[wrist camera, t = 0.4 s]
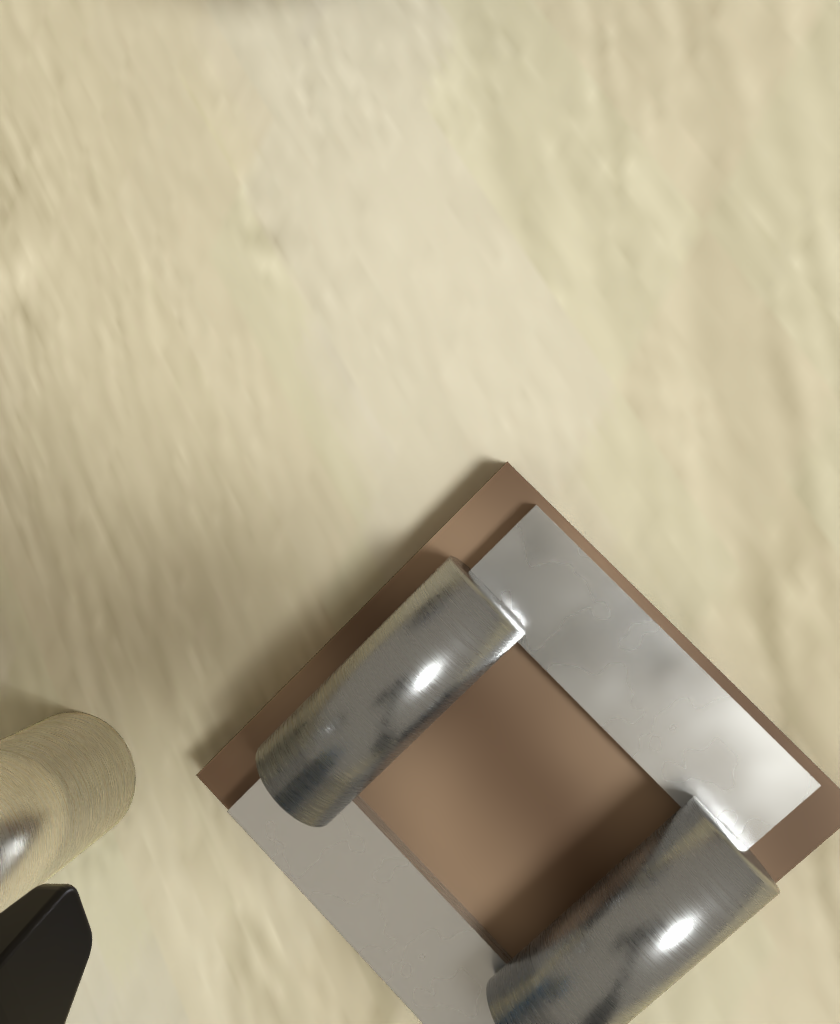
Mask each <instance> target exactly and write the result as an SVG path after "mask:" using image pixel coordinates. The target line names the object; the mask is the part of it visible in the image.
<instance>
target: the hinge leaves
mask: <svg viewBox="0 0 840 1024" xmlns="http://www.w3.org/2000/svg"><path fill="white" fill-rule="evenodd" d="M516 642H518V643H519V644H520V645H521V646H522V647H523V648H524V649H525V650H526V651H527V652H528V653H529V654H530V655H531V656H532V657H533V658H534V659H535V660H536V661H537V662H538V663H539V664H540V665H541V666H542V667H543V668H544V669H545V670H546V671H547V672H548V673H549V674H550V675H551V676H552V677H553V678H554V679H555V680H556V681H557V682H558V683H559V684H560V685H561V686H562V687H563V688H564V689H565V690H566V691H567V692H568V693H569V694H570V695H571V696H572V697H573V698H574V699H575V700H576V701H577V703H578V704H579V705H580V706H581V707H582V708H583V709H584V710H585V711H586V712H587V713H588V714H589V715H590V716H591V717H592V718H593V719H594V720H595V721H596V722H597V723H598V724H599V725H600V726H601V727H602V728H603V729H604V730H605V731H606V732H607V733H608V734H609V735H610V736H611V737H612V738H613V739H614V740H615V741H616V742H617V743H618V744H619V745H620V746H621V747H622V748H623V749H624V750H625V751H626V752H627V753H628V754H629V755H630V756H631V757H632V758H633V759H634V760H635V761H636V762H637V763H638V764H639V765H640V766H641V767H642V768H643V769H644V770H645V771H646V772H647V773H648V774H649V775H650V776H651V777H652V778H653V779H654V780H655V781H656V782H657V783H658V784H659V785H660V786H661V787H662V788H663V789H664V790H665V791H666V792H667V793H668V794H669V795H670V796H671V797H672V798H673V799H674V800H675V801H676V802H677V803H678V804H679V805H680V806H681V808H680V809H679V810H678V811H677V812H676V813H674V814H673V815H672V816H671V817H670V818H669V819H668V820H667V821H665V822H664V823H663V824H662V825H661V826H660V827H659V828H658V829H657V830H655V831H654V832H653V833H652V834H651V835H650V836H649V837H648V838H646V839H645V840H644V841H643V842H642V843H641V844H640V845H639V846H638V847H636V848H635V849H634V850H633V851H632V852H631V853H630V854H629V855H627V856H626V857H625V858H624V859H623V860H622V861H621V862H620V863H619V864H617V865H616V866H615V867H614V868H613V869H612V870H611V871H610V872H608V873H607V874H606V875H605V876H604V877H603V878H602V879H601V880H599V881H598V882H597V883H596V884H595V885H594V886H593V887H592V888H591V889H589V890H588V891H587V892H586V893H585V894H584V895H583V896H582V897H580V898H579V899H578V900H577V901H576V902H575V903H574V904H573V905H572V906H570V907H569V908H568V909H567V910H566V911H565V912H564V913H563V914H561V915H560V916H559V917H558V918H557V919H556V920H555V921H554V922H553V923H551V924H550V925H549V926H548V927H547V928H546V929H545V930H544V931H542V932H541V933H540V934H539V935H538V936H537V937H536V938H535V939H534V940H532V941H531V942H530V943H529V944H528V945H527V946H526V947H525V948H523V949H522V950H521V951H520V952H519V953H518V954H517V955H516V956H514V957H513V958H512V957H511V956H510V955H509V954H508V952H507V951H506V950H505V949H504V948H503V947H502V946H501V945H500V944H499V943H498V942H497V941H496V940H495V939H494V938H493V937H492V936H491V934H490V933H489V932H488V931H487V930H486V929H485V928H484V927H483V926H482V925H481V924H480V923H479V922H478V921H477V920H476V919H475V918H474V916H473V915H472V914H471V913H470V912H469V911H468V910H467V909H466V908H465V907H464V906H463V905H462V904H461V903H460V902H459V901H458V900H457V898H456V897H455V896H454V895H453V894H452V893H451V892H450V891H449V890H448V889H447V888H446V887H445V886H444V885H443V884H442V883H441V882H440V881H439V879H438V878H437V877H436V876H435V875H434V874H433V873H432V872H431V871H430V870H429V869H428V868H427V867H426V866H425V865H424V864H423V863H422V861H421V860H420V859H419V858H418V857H417V856H416V855H415V854H414V853H413V852H412V851H411V850H410V849H409V848H408V847H407V846H406V845H405V843H404V842H403V841H402V840H401V839H400V838H399V837H398V836H397V835H396V834H395V833H394V832H393V831H392V830H391V829H390V828H389V827H388V826H387V824H386V823H385V822H384V821H383V820H382V819H381V818H380V817H379V816H378V815H377V814H376V813H375V812H374V811H373V810H372V809H371V808H370V806H369V805H368V804H367V803H366V802H365V801H364V800H363V799H362V798H361V797H360V796H359V794H360V793H361V792H362V791H363V790H364V789H365V788H366V787H367V786H368V785H369V784H370V783H371V782H372V781H373V780H374V779H375V778H376V777H377V776H378V775H380V774H381V773H382V772H383V771H384V770H385V769H386V768H387V767H388V766H389V765H390V764H391V763H392V762H393V761H394V760H395V759H396V758H397V757H398V756H399V755H400V754H401V753H402V752H403V751H404V750H405V749H406V748H408V747H409V746H410V745H411V744H412V743H413V742H414V741H415V740H416V739H417V738H418V737H419V736H420V735H421V734H422V733H423V732H424V731H425V730H426V729H427V728H428V727H429V726H430V725H431V724H432V723H433V722H434V721H435V720H437V719H438V718H439V717H440V716H441V715H442V714H443V713H444V712H445V711H446V710H447V709H448V708H449V707H450V706H451V705H452V704H453V703H454V702H455V701H456V700H457V699H458V698H459V697H460V696H461V695H462V694H463V693H465V692H466V691H467V690H468V689H469V688H470V687H471V686H472V685H473V684H474V683H475V682H476V681H477V680H478V679H479V678H480V677H481V676H482V675H483V674H484V673H485V672H486V671H487V670H488V669H489V668H490V667H491V666H493V665H494V664H495V663H496V662H497V661H498V660H499V659H500V658H501V657H502V656H503V655H504V654H505V653H506V652H507V651H508V650H509V649H510V648H511V647H512V646H513V645H514V644H515V643H516ZM255 761H256V767H257V771H258V774H259V776H260V779H259V780H258V781H257V782H256V783H255V784H254V785H253V786H252V787H251V788H250V789H249V790H248V791H247V792H246V793H245V794H244V795H243V796H242V797H241V798H240V799H239V800H238V801H237V802H236V803H235V804H234V805H233V806H232V807H231V808H230V809H229V810H228V811H227V812H228V813H229V814H230V815H231V816H232V817H233V818H234V819H235V820H236V822H237V823H238V824H239V825H240V826H241V827H242V828H243V829H244V830H245V831H246V832H247V833H248V835H249V836H250V837H251V838H252V839H253V840H254V841H255V842H256V843H257V844H258V845H259V846H260V848H261V849H262V850H263V851H264V852H265V853H266V854H267V855H268V856H269V857H270V858H271V859H272V861H273V862H274V863H275V864H276V865H277V866H278V867H279V868H280V869H281V870H282V871H283V872H284V874H285V875H286V876H287V877H288V878H289V879H290V880H291V881H292V882H293V883H294V884H295V885H296V886H297V888H298V889H299V890H300V891H301V892H302V893H303V894H304V895H305V896H306V897H307V898H308V899H309V901H310V902H311V903H312V904H313V905H314V906H315V907H316V908H317V909H318V910H319V911H320V912H321V914H322V915H323V916H324V917H325V918H326V919H327V920H328V921H329V922H330V923H331V924H332V925H333V927H334V928H335V929H336V930H337V931H338V932H339V933H340V934H341V935H342V936H343V937H344V938H345V940H346V941H347V942H348V943H349V944H350V945H351V946H352V947H353V948H354V949H355V950H356V951H357V953H358V954H359V955H360V956H361V957H362V958H363V959H364V960H365V961H366V962H367V963H368V964H369V966H370V967H371V968H372V969H373V970H374V971H375V972H376V973H377V974H378V975H379V976H380V977H381V978H382V980H383V981H384V982H385V983H386V984H387V985H388V986H389V987H390V988H391V989H392V990H393V991H394V993H395V994H396V995H397V996H398V997H399V998H400V999H401V1000H402V1001H403V1002H404V1003H405V1004H406V1006H407V1007H408V1008H409V1009H410V1010H411V1011H412V1012H413V1013H414V1014H415V1015H416V1016H417V1017H418V1019H419V1020H420V1021H421V1022H422V1023H423V1024H628V1023H629V1022H630V1021H631V1020H632V1019H633V1018H635V1017H636V1016H637V1015H638V1014H639V1013H640V1012H642V1011H643V1010H644V1009H645V1008H646V1007H647V1006H649V1005H650V1004H651V1003H652V1002H653V1001H654V1000H656V999H657V998H658V997H659V996H660V995H661V994H663V993H664V992H665V991H666V990H667V989H668V988H670V987H671V986H672V985H673V984H674V983H675V982H677V981H678V980H679V979H680V978H681V977H682V976H684V975H685V974H686V973H687V972H688V971H689V970H691V969H692V968H693V967H694V966H695V965H696V964H698V963H699V962H700V961H701V960H702V959H703V958H705V957H706V956H707V955H708V954H709V953H710V952H712V951H713V950H714V949H715V948H716V947H717V946H719V945H720V944H721V943H722V942H723V941H724V940H726V939H727V938H728V937H729V936H730V935H731V934H733V933H734V932H735V931H736V930H737V929H738V928H740V927H741V926H742V925H743V924H744V923H745V922H747V921H748V920H749V919H750V918H751V917H752V916H754V915H755V914H756V913H757V912H758V911H759V910H761V909H762V908H763V907H764V906H765V905H766V904H768V903H769V902H770V901H771V900H772V899H773V898H775V897H776V896H777V895H778V894H779V893H780V890H779V888H778V886H777V885H776V883H775V882H774V880H773V879H772V877H771V876H770V874H769V873H768V872H767V870H766V869H765V868H764V866H763V865H762V864H761V863H760V861H759V860H758V859H757V858H756V857H755V855H754V854H753V853H752V852H751V851H750V849H749V848H750V847H751V846H752V845H754V844H755V843H756V842H757V841H758V840H759V839H761V838H762V837H763V836H764V835H765V834H766V833H767V832H769V831H770V830H771V829H772V828H773V827H774V826H775V825H777V824H778V823H779V822H780V821H781V820H782V819H783V818H785V817H786V816H787V815H788V814H789V813H790V812H791V811H793V810H794V809H795V808H796V807H797V806H798V805H799V804H801V803H802V802H803V801H804V800H805V799H806V798H808V797H809V796H810V795H811V794H812V793H813V792H814V791H816V790H817V789H818V788H819V787H820V786H821V785H820V784H819V783H818V782H817V781H816V780H815V779H814V778H813V777H812V776H811V775H810V774H809V773H808V772H807V771H806V770H805V769H804V768H803V767H802V766H801V765H800V764H799V763H798V762H797V761H796V760H795V759H794V758H793V757H792V756H791V755H790V754H789V753H788V752H787V751H786V750H785V749H784V748H783V747H782V746H781V745H780V744H779V743H778V742H777V741H776V740H775V739H774V738H773V737H772V736H771V735H769V734H768V733H767V732H766V731H765V730H764V729H763V728H762V727H761V726H760V725H759V724H758V723H757V722H756V721H755V720H754V719H753V718H752V717H751V716H750V715H749V714H748V713H747V712H746V711H745V710H744V709H743V708H742V707H741V706H740V705H739V704H738V703H737V702H736V701H735V700H734V699H733V698H732V697H731V696H730V695H729V694H728V693H727V692H726V691H725V690H724V689H723V688H722V687H721V686H720V685H719V684H718V683H717V682H716V681H715V680H714V679H713V678H712V677H711V676H710V675H709V674H708V673H707V672H706V671H705V670H704V669H703V668H702V667H701V666H700V665H698V664H697V663H696V662H695V661H694V660H693V659H692V658H691V657H690V656H689V655H688V654H687V653H686V652H685V651H684V650H683V649H682V648H681V647H680V646H679V645H678V644H677V643H676V642H675V641H674V640H673V639H672V638H671V637H670V636H669V635H668V634H667V633H666V632H665V631H664V630H663V629H662V628H661V627H660V626H659V625H658V624H657V623H656V622H655V621H654V620H653V619H652V618H651V617H650V616H649V615H648V614H647V613H646V612H645V611H644V610H643V609H642V608H641V607H640V606H639V605H638V604H637V603H636V602H635V601H634V600H633V599H632V598H631V597H630V596H629V595H628V594H626V593H625V592H624V591H623V590H622V589H621V588H620V587H619V586H618V585H617V584H616V583H615V582H614V581H613V580H612V579H611V578H610V577H609V576H608V575H607V574H606V573H605V572H604V571H603V570H602V569H601V568H600V567H599V566H598V565H597V564H596V563H595V562H594V561H593V560H592V559H591V558H590V557H589V556H588V555H587V554H586V553H585V552H584V551H583V550H582V549H581V548H580V547H579V546H578V545H577V544H576V543H575V542H574V541H573V540H572V539H571V538H570V537H569V536H568V535H567V534H566V533H565V532H564V531H563V530H562V529H561V528H560V527H559V526H558V525H557V524H555V523H554V522H553V521H552V520H551V519H550V518H549V517H548V516H547V515H546V514H545V513H544V512H543V511H542V510H541V509H540V508H539V507H538V506H537V505H535V506H534V507H533V508H532V509H531V510H530V511H529V512H528V513H527V514H526V515H525V516H524V517H523V518H522V519H521V520H520V521H519V522H518V523H517V524H516V525H515V526H514V527H513V528H512V529H511V530H510V531H509V532H508V533H507V534H506V535H505V536H504V537H503V538H502V539H501V540H500V541H499V542H498V543H497V544H496V545H495V546H494V547H493V548H492V549H491V550H490V551H489V552H488V553H487V554H486V555H485V556H484V557H483V558H482V559H481V560H480V561H479V562H478V563H477V564H476V565H475V566H474V567H473V568H472V569H471V568H470V567H468V566H467V565H466V564H465V563H463V562H462V561H461V560H459V559H458V558H456V557H454V556H449V557H448V558H447V559H446V560H445V561H444V562H443V563H442V564H441V565H440V566H439V567H438V568H437V569H436V570H435V571H434V572H433V573H432V574H431V575H430V576H429V577H428V578H427V579H426V580H425V581H424V582H423V583H422V584H421V585H420V586H419V587H418V588H417V589H416V590H415V591H414V592H413V593H412V594H411V595H410V596H409V597H408V598H407V599H406V600H405V601H404V602H403V603H402V604H401V605H400V606H399V607H398V608H397V609H396V610H395V611H394V612H393V613H392V614H391V615H390V616H389V617H388V618H387V619H386V620H385V621H384V622H383V623H382V624H381V625H380V626H379V627H378V628H377V629H376V630H375V631H374V632H373V633H372V634H371V635H370V636H369V637H368V638H367V639H366V640H365V641H364V642H363V643H362V644H361V645H360V646H359V647H358V648H357V649H356V650H355V651H354V652H353V653H352V654H351V655H350V656H349V657H348V658H347V659H346V660H345V661H344V662H343V663H342V664H341V665H340V666H339V667H338V668H337V669H336V670H335V671H334V672H333V673H332V674H331V675H330V676H329V677H328V678H327V679H326V680H325V681H324V682H323V683H322V684H321V685H320V686H319V687H318V688H317V689H316V690H315V691H314V692H313V693H312V694H311V695H310V696H309V697H308V698H307V699H306V700H305V701H304V702H303V703H302V704H301V705H300V706H299V707H298V708H297V709H296V710H295V711H294V712H293V713H292V714H291V715H290V716H289V717H288V718H287V719H286V720H285V721H284V722H283V723H282V724H281V725H280V726H279V727H278V728H277V729H276V730H275V731H274V732H273V733H272V734H271V735H270V736H269V737H268V738H267V739H266V740H265V741H264V742H263V743H262V744H261V745H260V746H259V748H258V749H257V751H256V755H255Z"/></svg>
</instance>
